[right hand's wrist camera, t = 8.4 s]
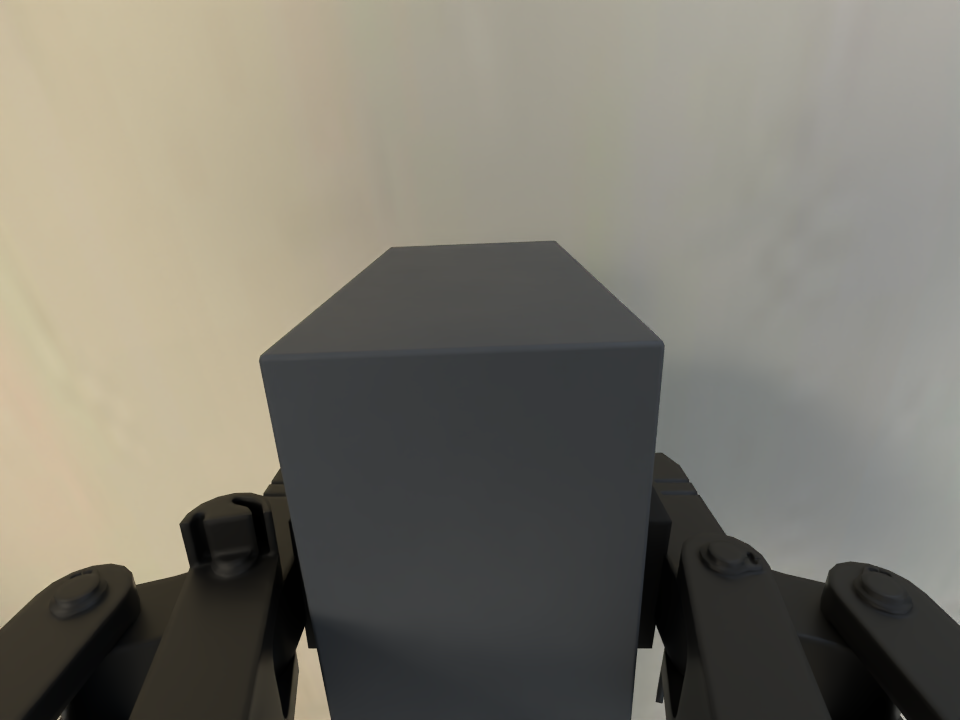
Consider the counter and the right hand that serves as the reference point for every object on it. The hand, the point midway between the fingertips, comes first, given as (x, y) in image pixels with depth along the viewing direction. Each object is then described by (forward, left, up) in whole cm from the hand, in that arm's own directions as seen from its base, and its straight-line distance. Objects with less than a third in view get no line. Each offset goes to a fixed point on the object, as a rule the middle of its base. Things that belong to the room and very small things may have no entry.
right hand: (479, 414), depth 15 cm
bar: (+15, -17, 0) cm, 23 cm away
